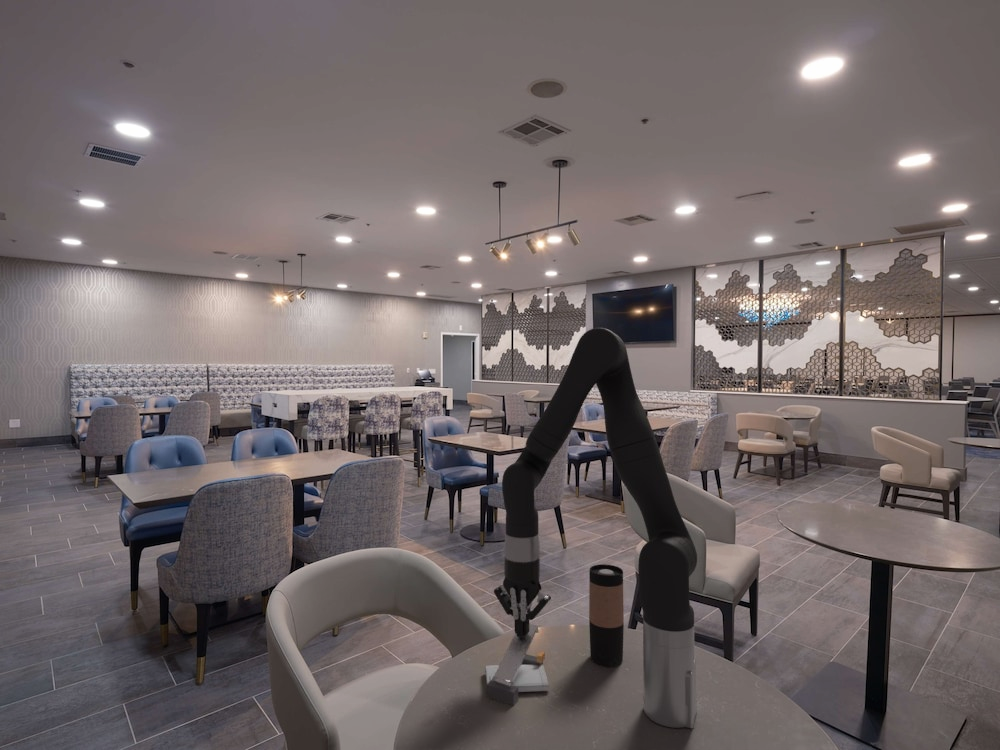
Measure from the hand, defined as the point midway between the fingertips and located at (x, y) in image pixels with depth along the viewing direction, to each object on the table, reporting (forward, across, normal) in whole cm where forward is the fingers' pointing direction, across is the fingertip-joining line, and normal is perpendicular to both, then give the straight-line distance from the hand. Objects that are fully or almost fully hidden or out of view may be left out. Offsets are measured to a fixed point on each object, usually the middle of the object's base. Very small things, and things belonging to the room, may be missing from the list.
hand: (521, 635), depth 113 cm
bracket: (+8, 0, +3) cm, 9 cm away
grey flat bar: (+3, 0, +3) cm, 4 cm away
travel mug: (+9, -14, -15) cm, 22 cm away
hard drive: (+8, 0, +3) cm, 9 cm away
